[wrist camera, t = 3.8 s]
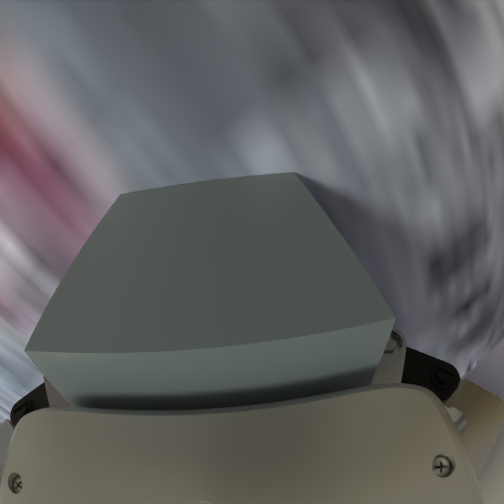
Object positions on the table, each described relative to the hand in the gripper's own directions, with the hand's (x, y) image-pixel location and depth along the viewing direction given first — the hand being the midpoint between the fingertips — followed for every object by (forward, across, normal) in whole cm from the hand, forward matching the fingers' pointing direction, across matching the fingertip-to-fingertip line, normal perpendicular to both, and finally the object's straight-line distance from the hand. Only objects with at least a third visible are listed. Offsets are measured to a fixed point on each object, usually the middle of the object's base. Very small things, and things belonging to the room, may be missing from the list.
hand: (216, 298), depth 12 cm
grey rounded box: (+3, 0, 0) cm, 3 cm away
